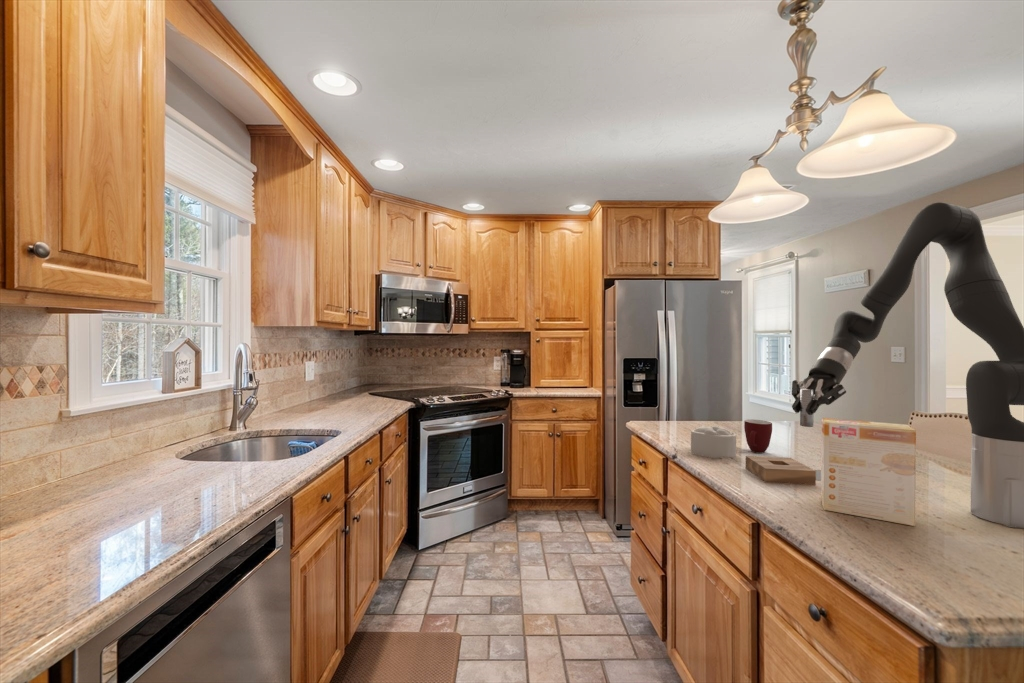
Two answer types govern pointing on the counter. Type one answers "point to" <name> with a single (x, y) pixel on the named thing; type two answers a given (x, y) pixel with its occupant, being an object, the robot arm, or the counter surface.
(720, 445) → the lumpy-topped squat cylinder
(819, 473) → the mat
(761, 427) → the mug
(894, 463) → the coffeecake box
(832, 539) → the counter surface
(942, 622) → the counter surface
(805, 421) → the pin
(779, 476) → the hole block
